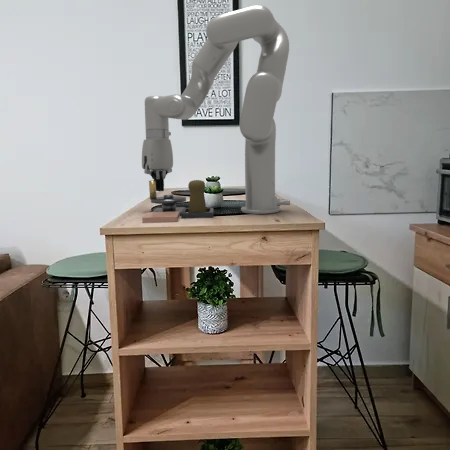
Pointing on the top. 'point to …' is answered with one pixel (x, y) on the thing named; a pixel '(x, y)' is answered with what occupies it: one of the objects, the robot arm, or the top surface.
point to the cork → (197, 196)
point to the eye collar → (197, 214)
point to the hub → (169, 208)
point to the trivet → (161, 217)
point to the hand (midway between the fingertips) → (159, 190)
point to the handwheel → (167, 198)
